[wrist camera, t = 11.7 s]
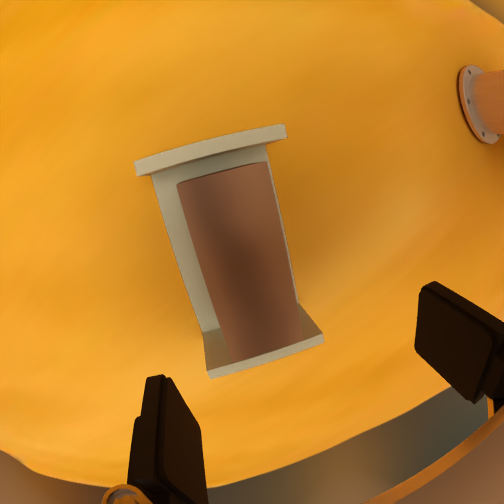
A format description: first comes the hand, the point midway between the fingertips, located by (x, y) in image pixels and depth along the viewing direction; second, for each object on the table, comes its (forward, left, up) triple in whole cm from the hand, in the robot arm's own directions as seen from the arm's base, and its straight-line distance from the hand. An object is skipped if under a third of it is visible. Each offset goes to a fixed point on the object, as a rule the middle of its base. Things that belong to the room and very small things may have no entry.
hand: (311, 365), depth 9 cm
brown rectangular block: (0, 0, -15) cm, 15 cm away
